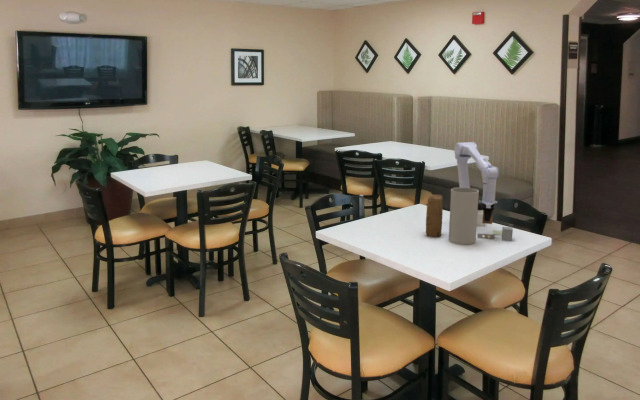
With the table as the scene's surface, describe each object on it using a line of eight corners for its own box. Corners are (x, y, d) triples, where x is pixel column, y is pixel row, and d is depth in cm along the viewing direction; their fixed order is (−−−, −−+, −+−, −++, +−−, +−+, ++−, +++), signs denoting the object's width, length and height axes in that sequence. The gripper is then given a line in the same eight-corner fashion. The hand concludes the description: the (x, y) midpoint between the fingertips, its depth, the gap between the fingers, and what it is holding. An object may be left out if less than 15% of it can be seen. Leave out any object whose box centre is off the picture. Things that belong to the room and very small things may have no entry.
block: (440, 238, 261) (442, 198, 257) (424, 236, 263) (426, 197, 259) (442, 232, 271) (444, 193, 267) (427, 231, 273) (429, 192, 269)
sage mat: (493, 235, 266) (493, 234, 266) (492, 231, 273) (493, 230, 273) (508, 236, 264) (509, 235, 264) (508, 232, 271) (508, 231, 271)
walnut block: (482, 223, 260) (483, 211, 258) (482, 220, 264) (483, 209, 263) (492, 223, 258) (492, 211, 257) (492, 221, 263) (492, 209, 261)
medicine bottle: (482, 223, 288) (484, 202, 285) (484, 227, 281) (487, 205, 278) (468, 222, 289) (471, 201, 286) (471, 226, 282) (473, 204, 279)
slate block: (501, 241, 256) (502, 229, 255) (501, 238, 261) (502, 226, 259) (511, 241, 255) (512, 229, 254) (511, 239, 259) (512, 227, 258)
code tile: (477, 238, 260) (477, 237, 260) (477, 234, 268) (477, 233, 268) (494, 239, 258) (494, 239, 258) (494, 235, 265) (494, 234, 265)
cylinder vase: (456, 246, 248) (459, 193, 243) (443, 238, 260) (446, 188, 255) (480, 244, 252) (484, 192, 246) (466, 236, 263) (469, 186, 258)
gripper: (498, 195, 250) (496, 223, 253) (497, 189, 264) (495, 216, 267) (482, 194, 252) (480, 222, 255) (482, 188, 266) (481, 215, 269)
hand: (487, 219), depth 261 cm, fingers closed on walnut block, 4 cm apart
